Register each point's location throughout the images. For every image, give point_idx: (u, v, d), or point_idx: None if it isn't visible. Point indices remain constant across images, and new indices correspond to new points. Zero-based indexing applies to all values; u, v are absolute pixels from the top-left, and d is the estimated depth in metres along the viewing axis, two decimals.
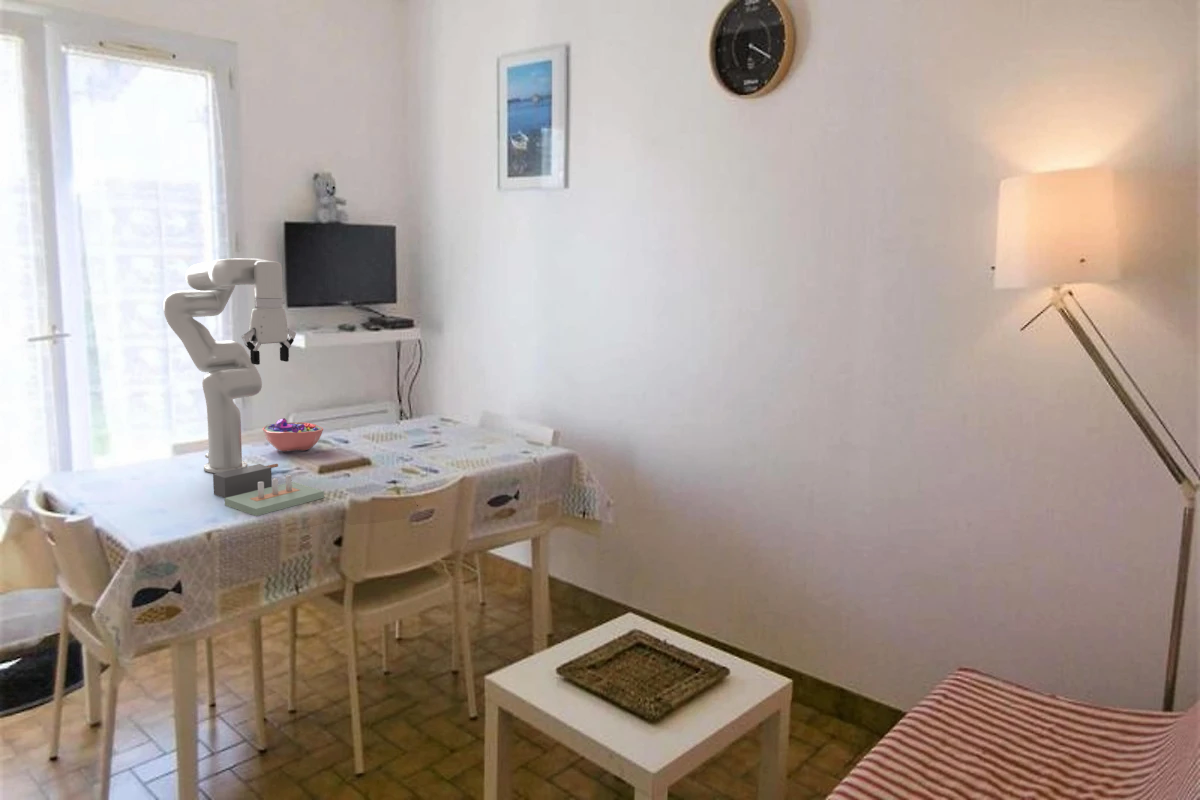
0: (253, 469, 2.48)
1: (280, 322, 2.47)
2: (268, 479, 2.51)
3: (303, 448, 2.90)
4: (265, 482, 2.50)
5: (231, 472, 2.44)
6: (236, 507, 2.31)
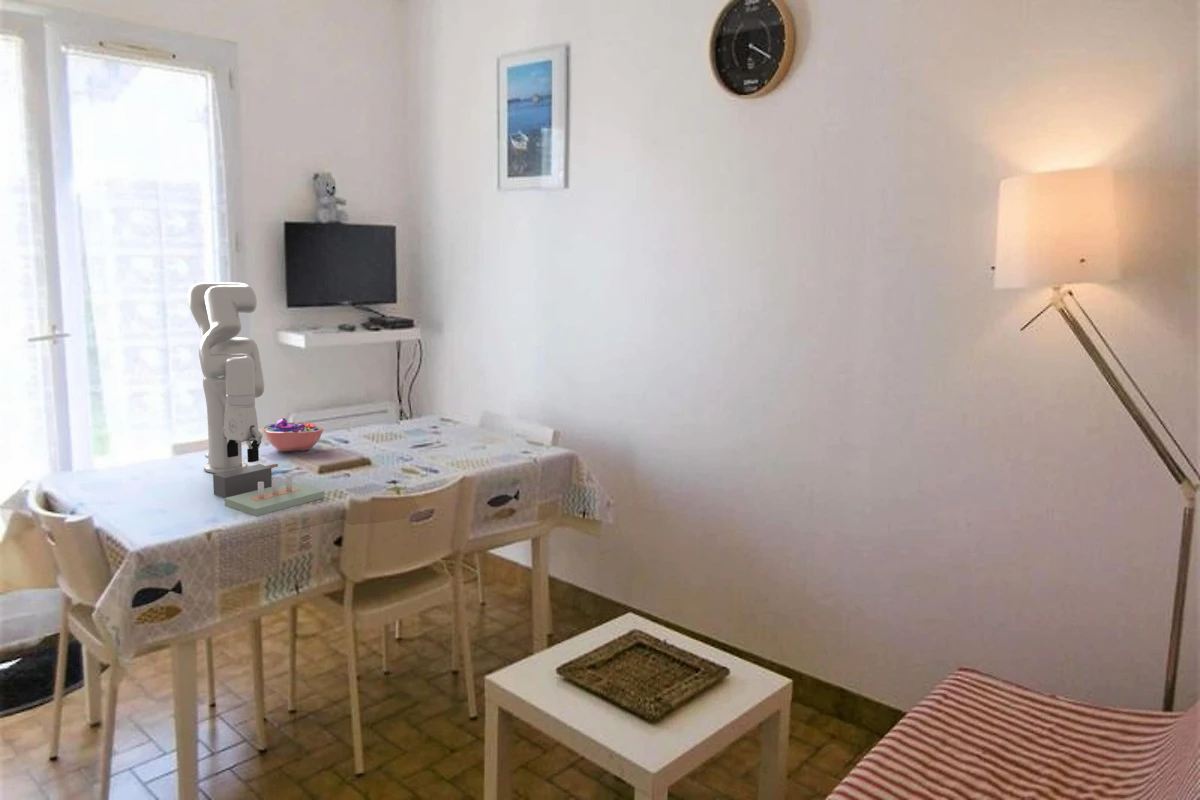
0: (253, 469, 2.48)
1: None
2: (268, 479, 2.51)
3: (303, 448, 2.90)
4: (265, 482, 2.50)
5: (231, 472, 2.44)
6: (236, 507, 2.31)
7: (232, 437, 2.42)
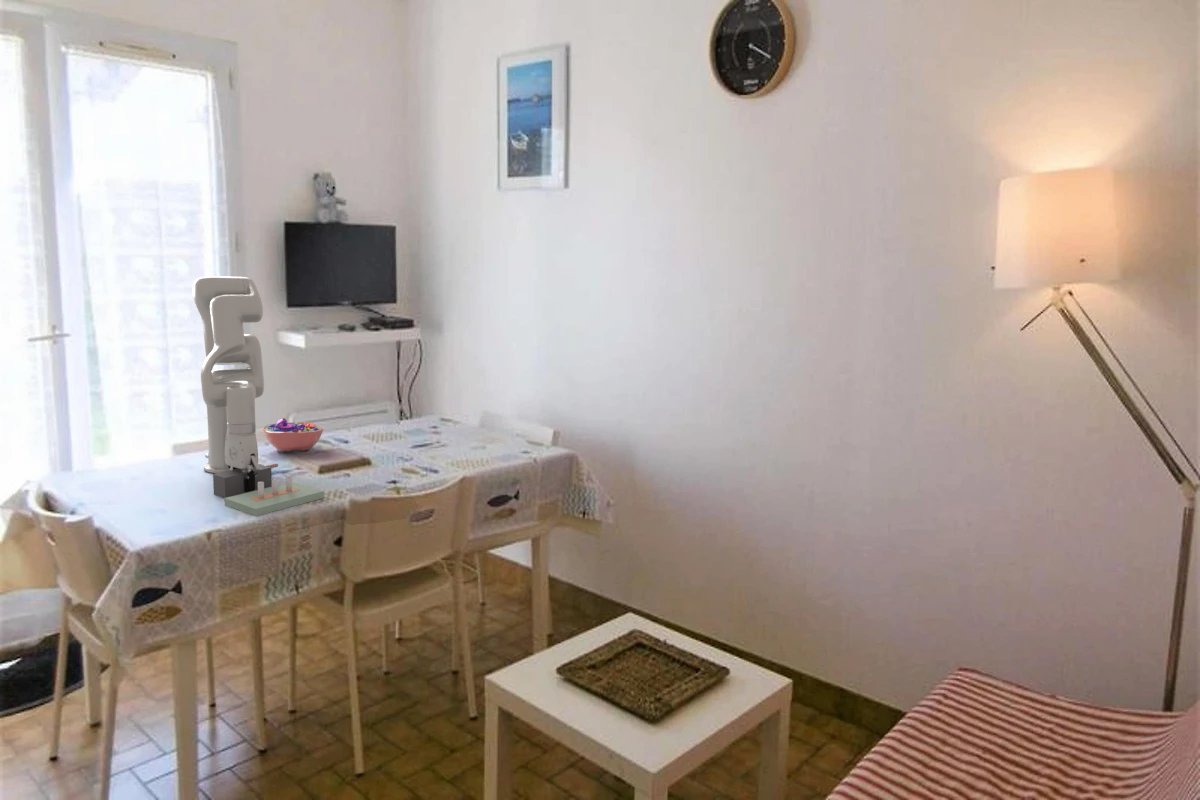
0: None
1: None
2: (268, 479, 2.51)
3: (303, 448, 2.90)
4: (265, 482, 2.50)
5: (231, 472, 2.44)
6: (236, 507, 2.31)
7: (232, 464, 2.44)
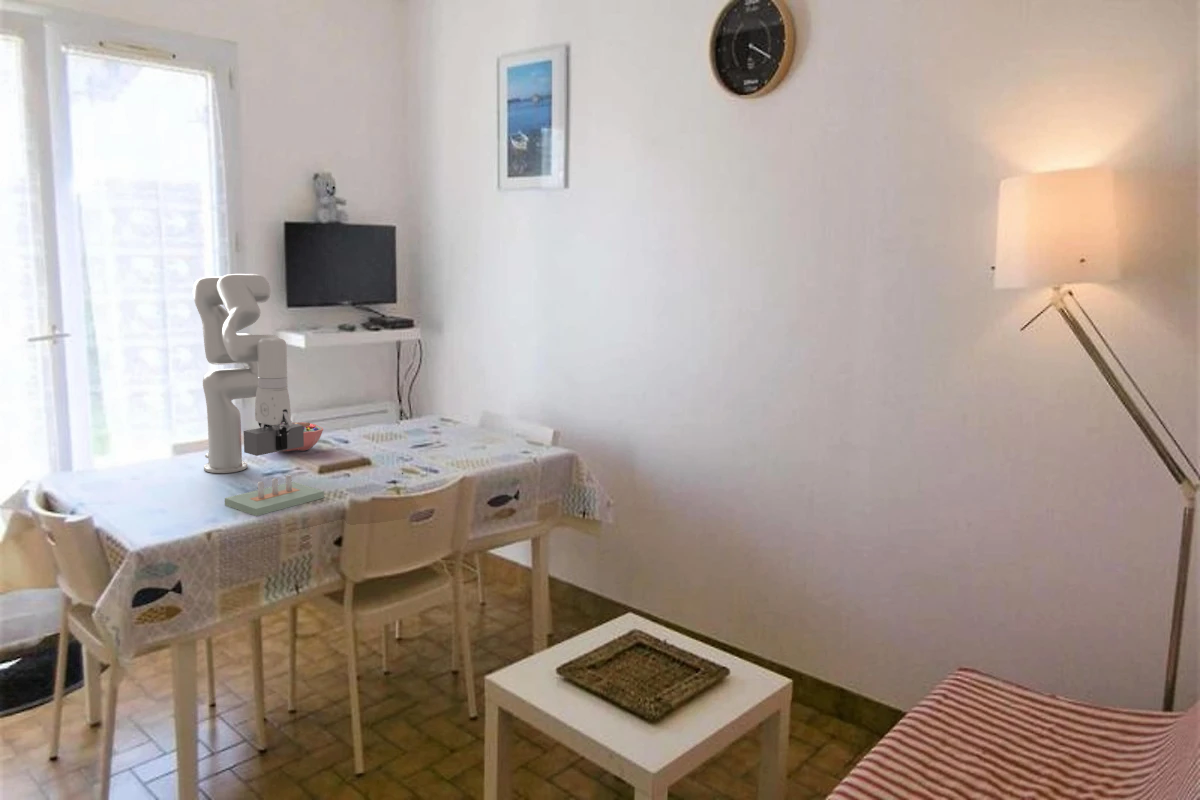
0: None
1: None
2: (300, 438, 2.39)
3: (303, 448, 2.90)
4: (297, 441, 2.39)
5: (262, 429, 2.33)
6: (236, 507, 2.31)
7: (264, 421, 2.33)
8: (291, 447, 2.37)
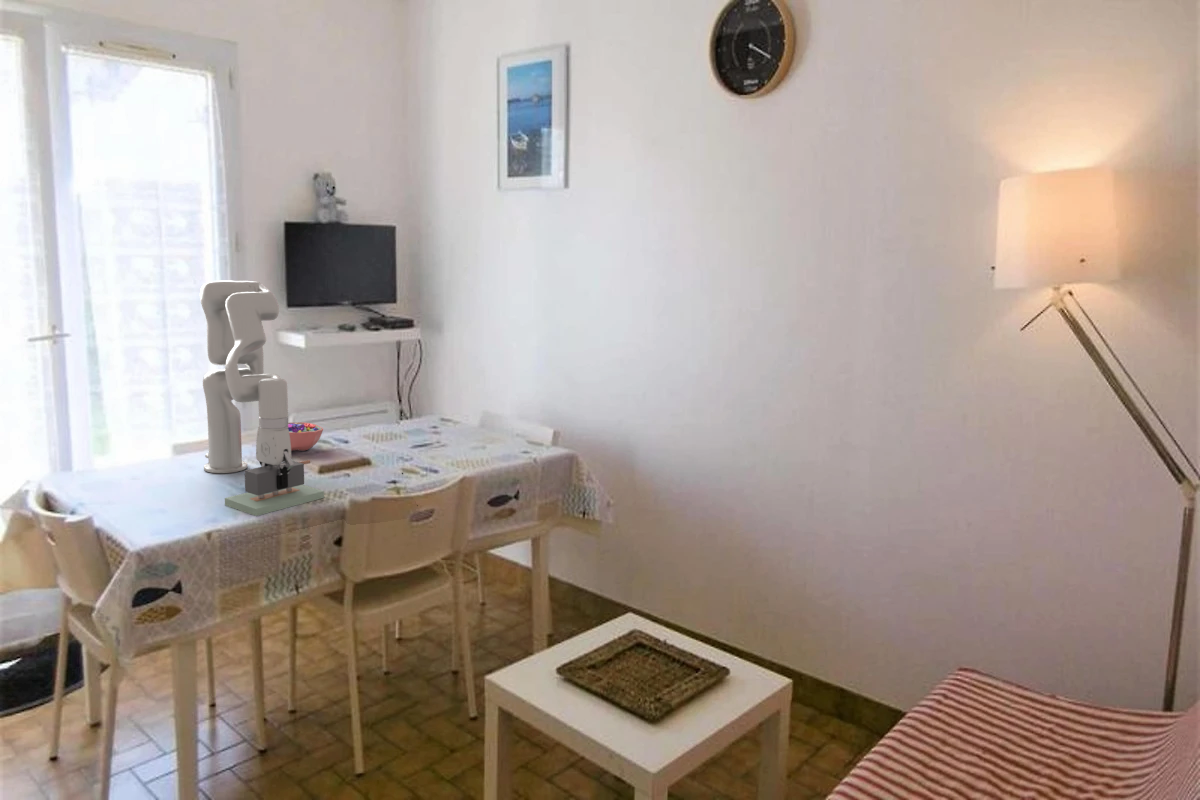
0: None
1: None
2: (300, 476, 2.42)
3: (303, 448, 2.90)
4: (297, 479, 2.41)
5: (263, 468, 2.35)
6: (236, 507, 2.31)
7: (265, 460, 2.35)
8: (292, 485, 2.39)
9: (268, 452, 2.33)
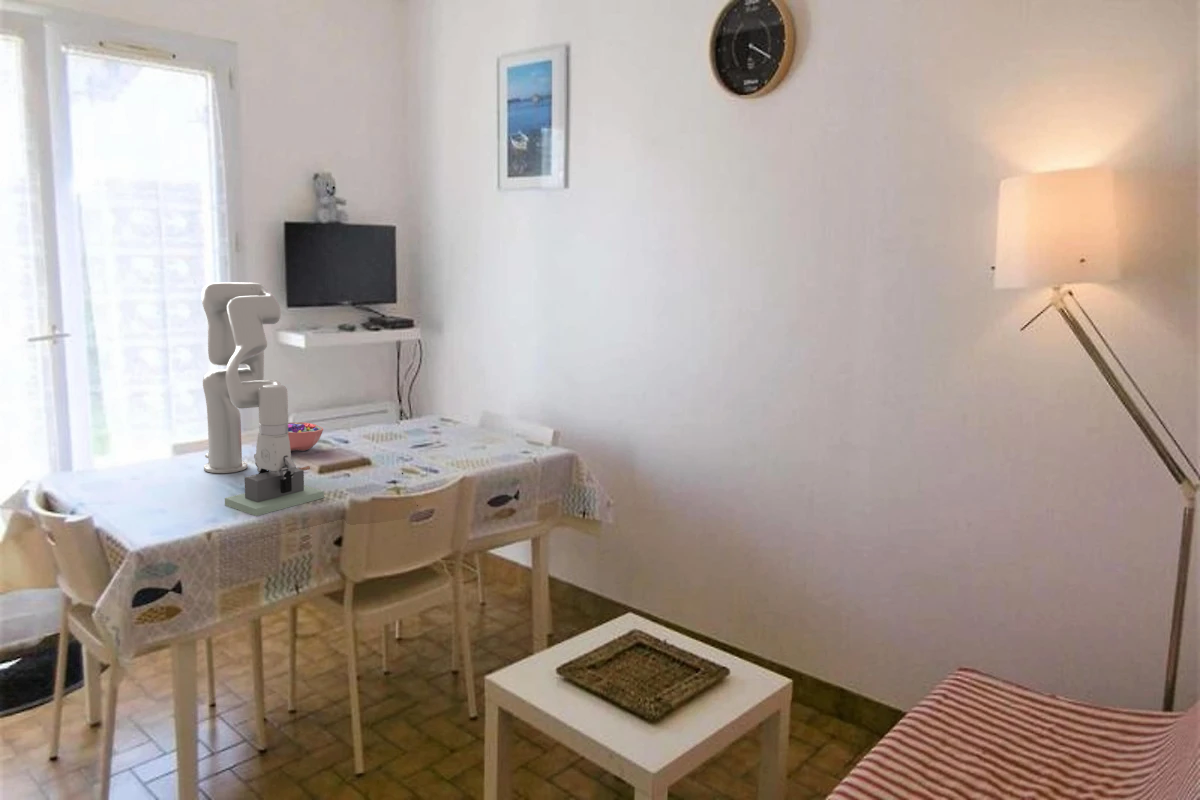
0: (285, 471, 2.40)
1: None
2: (300, 482, 2.42)
3: (303, 448, 2.90)
4: (297, 485, 2.41)
5: (263, 475, 2.35)
6: (236, 507, 2.31)
7: (265, 467, 2.35)
8: (291, 492, 2.40)
9: (268, 458, 2.34)
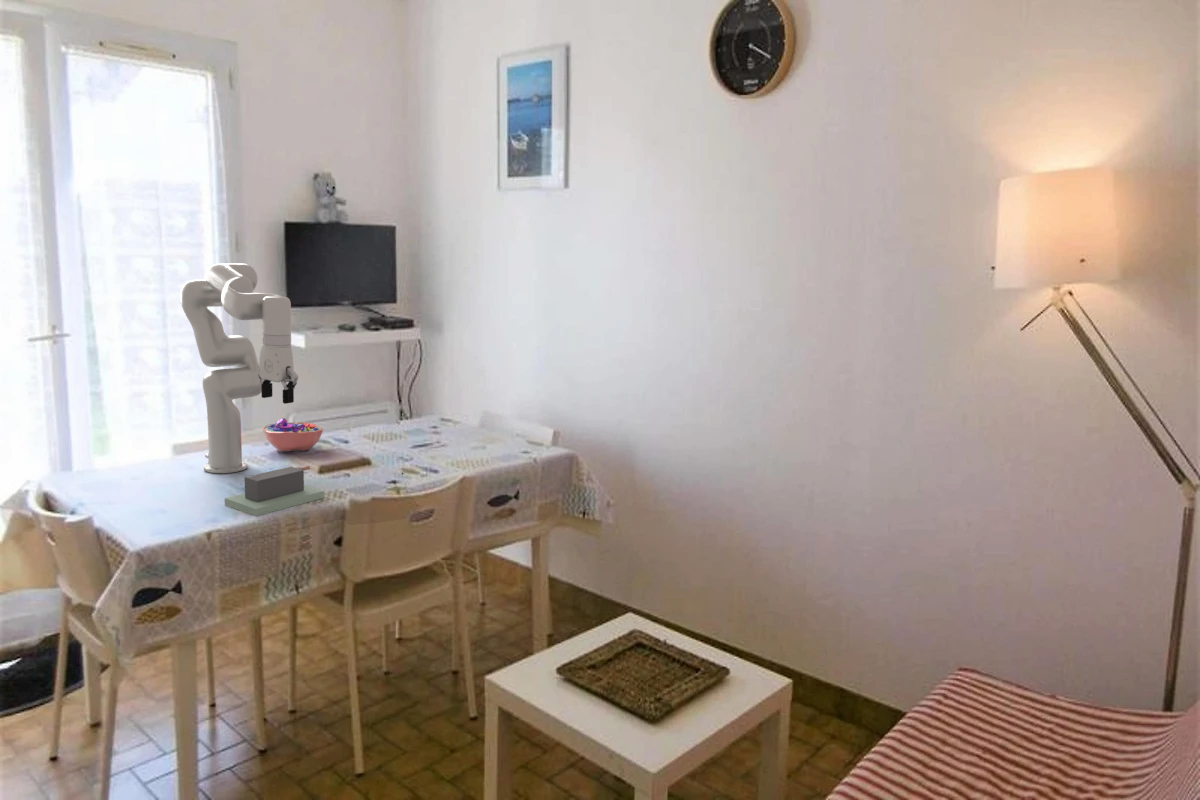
0: (285, 471, 2.40)
1: None
2: (300, 482, 2.42)
3: (303, 448, 2.90)
4: (297, 485, 2.41)
5: (263, 475, 2.35)
6: (236, 507, 2.31)
7: (267, 377, 2.38)
8: (291, 492, 2.40)
9: (271, 369, 2.37)
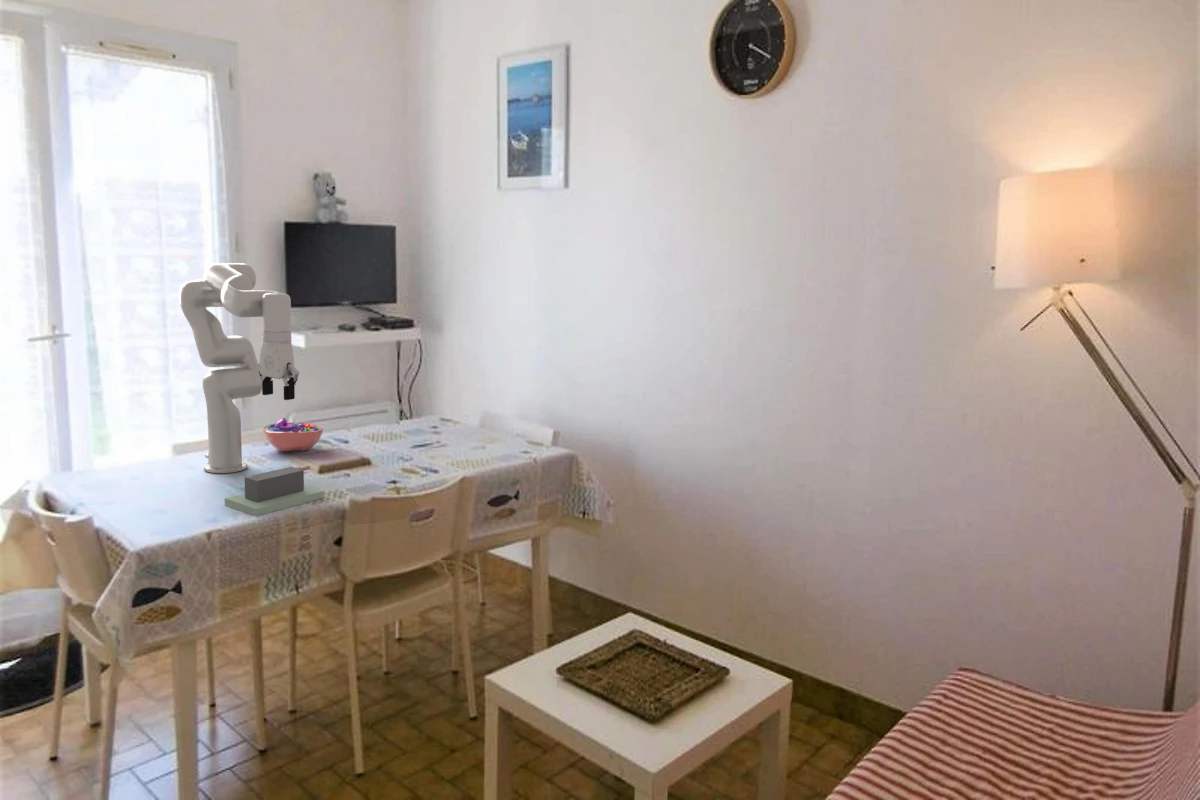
0: (285, 471, 2.40)
1: None
2: (300, 482, 2.42)
3: (303, 448, 2.90)
4: (297, 485, 2.41)
5: (263, 475, 2.35)
6: (236, 507, 2.31)
7: (268, 374, 2.39)
8: (291, 492, 2.40)
9: (271, 365, 2.37)
